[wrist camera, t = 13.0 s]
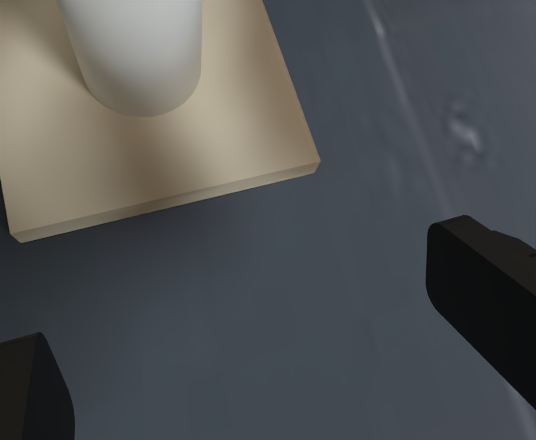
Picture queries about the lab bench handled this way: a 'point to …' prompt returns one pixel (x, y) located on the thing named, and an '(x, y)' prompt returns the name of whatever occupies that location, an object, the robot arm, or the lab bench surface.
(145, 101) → the white bottle
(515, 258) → the robot arm
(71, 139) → the board
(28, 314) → the lab bench surface
